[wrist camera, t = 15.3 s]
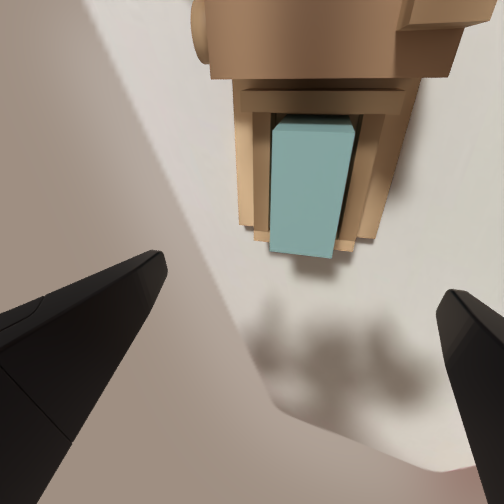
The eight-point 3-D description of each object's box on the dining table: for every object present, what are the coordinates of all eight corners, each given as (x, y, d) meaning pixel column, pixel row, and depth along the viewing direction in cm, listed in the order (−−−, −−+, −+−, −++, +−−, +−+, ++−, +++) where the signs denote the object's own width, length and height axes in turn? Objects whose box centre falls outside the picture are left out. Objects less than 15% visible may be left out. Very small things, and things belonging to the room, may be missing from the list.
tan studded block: (439, -24, 12) (541, -106, 6) (413, 73, 14) (471, 79, 8) (216, -7, 14) (137, -57, 8) (221, 75, 16) (161, 81, 10)
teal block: (348, 115, 15) (354, 132, 11) (331, 217, 19) (331, 258, 15) (286, 114, 16) (272, 130, 12) (281, 213, 20) (269, 251, 16)
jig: (481, -156, 10) (527, -224, 8) (373, 231, 20) (379, 254, 17) (229, -116, 12) (204, -160, 10) (242, 219, 22) (231, 238, 19)
